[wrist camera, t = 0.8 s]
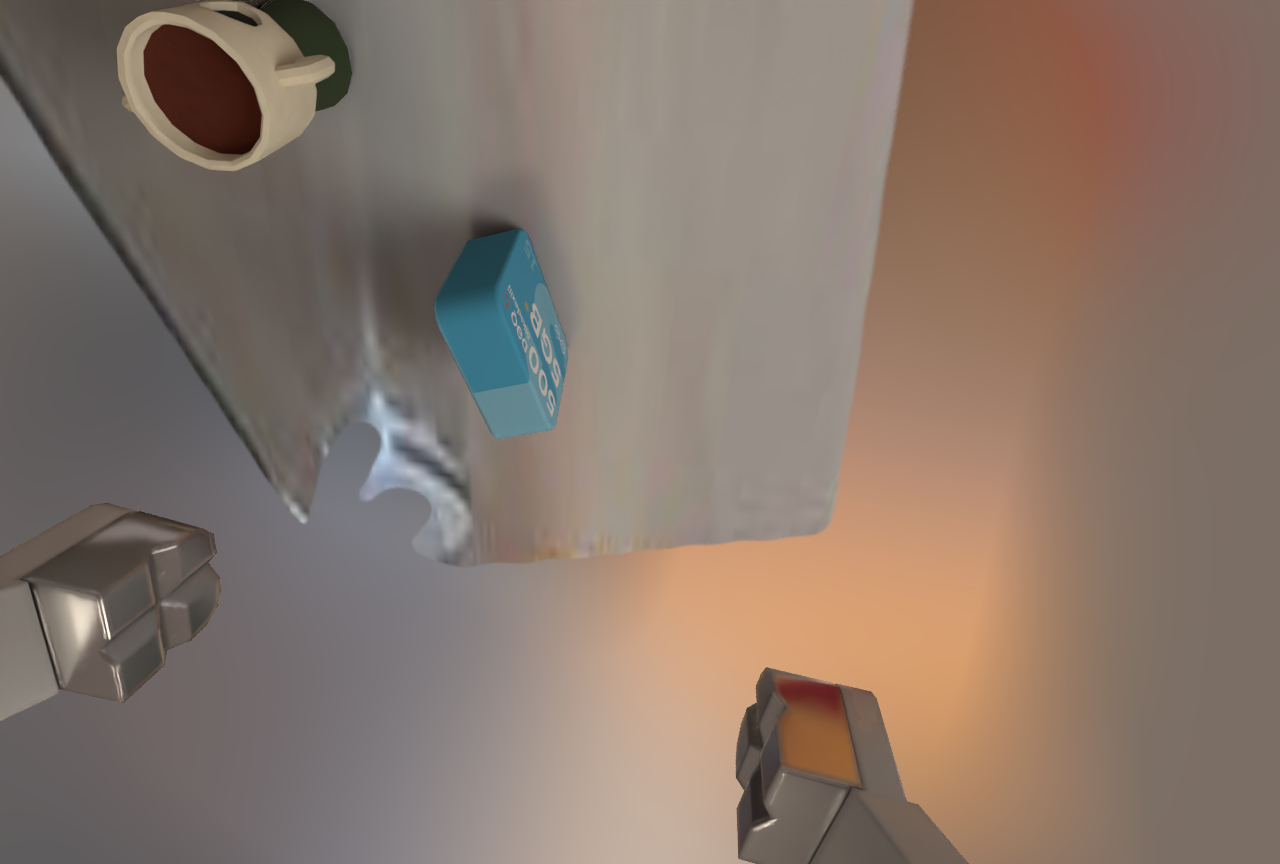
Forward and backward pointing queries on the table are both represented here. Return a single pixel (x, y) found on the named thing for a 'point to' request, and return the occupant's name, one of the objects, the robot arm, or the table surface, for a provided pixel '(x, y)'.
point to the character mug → (231, 76)
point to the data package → (504, 333)
